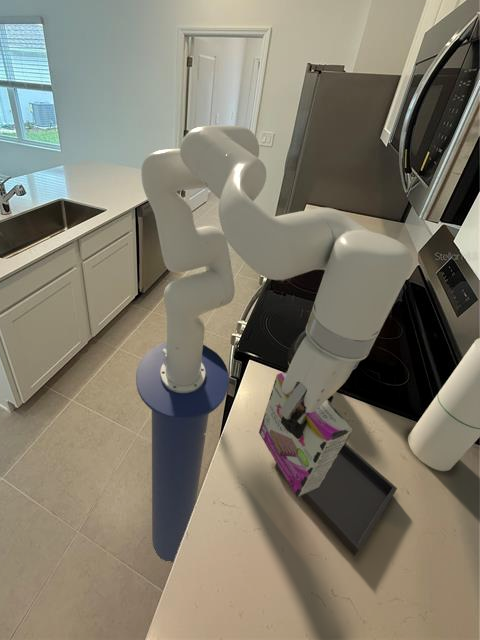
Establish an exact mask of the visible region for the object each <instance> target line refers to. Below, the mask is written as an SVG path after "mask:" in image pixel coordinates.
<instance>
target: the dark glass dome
mask: <svg viewBox="0 0 480 640" xmlns="http://www.w3.org/2000/svg"><path fill="white" fill-rule="evenodd" d="M305 337H306V328H305V329H304V330H302V331H301V332H300V333H299V334H298V336H296V338H295V339H294V340H293V342H292V344H291V345H290V347H289V349H288V351H287V354H286V360H287V365H288V367H289V366H290V364H291V362H292V360H293V357H294V355H295V353H296V351H297V349H298V348H299V346H300V344H301V342H302V341H303V339H304V338H305Z"/></svg>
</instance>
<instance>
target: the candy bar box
mask: <svg viewBox="0 0 480 640" xmlns="http://www.w3.org/2000/svg"><path fill="white" fill-rule="evenodd" d="M286 374H287V371H282V372H280V373H277V374H276V376H275V379H274V383H273V385H272V388H271V393H270V394H269V395H270V396H269V398H268V401H267V405H266V409H265V411H264V415H263V418H262V422H261V425H260V427H259V431H258V433H259V435H260V437H261V439H262V441H263V442H264V444H265V446H266V447H267V449H268V451H269V453H270V454H271V456H272V458H273V459H274V462H275V464H276V463H277V464H278V466H279V468H280V470H281V471H282V473H283V475H284V477H285V478H286V480H287V481H286V480H285V481H286V482H287V483H288V485H289V487H290V489H291V490H292V492H293V494H294V496H295V498H299V497H301V496H302V495H303V494H305V493H307V492H309V491H311V490H313V489H316V488H318V487H319V486H320V485H321V483H322V482H323V480H324V478H325V476H326V475H327V473H328V471H329V469H330V468H331V466H332V464H333V462H334V461H335V459H336V457H337V456H338V454H339V452H340V450H341V449H342V447H343V445H344V444H345V443H347V440H348V439H349V438H350V435H351V433H352V432H353V428H352V427H351V426H350V425H349V424H348V422H347V421H346V420H345V419H344V418H343V416H342V415H341V414H340V413H339V412H338V410H336V408H335V406H333V404H332V402H331V403H330V402H329V401H328V400H326V401H325V402H324V403H323V404H322V405H321V406H320V407H318V408H317V409H316V410H315V411H314V412H312V413H309V414H308V416H307V418H306V420H307V424H306V426H305V429H304V431H303V433H302V436H301V437H300V438H299V439H297V438H296V437H295V436H294V435H293V434H292V433H289V432H288V431H287V430H286V429H285V427H284V425H283V424H282V423H281V419H282V415H281V414H280V413H279V410H280V408H281V407H282V406H283V404H284V403H285V402H286V400H287V399H288V397H289V396H290V395H291V393H292V392H293V391H294V390H293V391H291V392H290V393H288V394H285V393H284V392H283V391H282V384H283V381H284V379H285V376H286ZM297 409H298V410H299V411H300V412H301V413H302V412H303V410H304V407H303V406H302V405H301V404H299V405H298V407H297ZM284 477H283V478H284Z"/></svg>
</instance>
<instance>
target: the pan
mask: <svg viewBox="0 0 480 640" xmlns="http://www.w3.org/2000/svg"><path fill="white" fill-rule="evenodd" d="M274 468H275V470H276V471H277V472H278V474H280V475H281V477H282V478H283V479H284V480H285V481H286V482H287V480H286V478H285V477H284V475H283V473H282V471H281V470H280V468H279V466H278V464H277V463H276V462H275V465H274ZM397 490H398V487H396V486H395V485H394V484H393V483H392V482H391V481H389V480H388V479H387V477H385V476H384V475H383V474H381V472H379V470H377V468H375V467H374V466H373V465H371V464H370V463H369V462H368V461H367V460H366V459H365V458H363V457H362V456H361V455H360V454H359V453H358V452H357V451H355V450H354V449H353V448H352V447H351V446H349V445H348V443H347V442H345V444H344V445H343V447H342V449H341V450H340V452H339V454H338V456H337V457H336V459H335V461H334V462H333V464H332V466H331V468H330V469H329V471H328V473H327V475H326V476H325V478H324V480H323V482H322V483H321V485H320V486H319V487H318V488H316V489H313V490H311V491H309V492H307V493H305V494H303V495H302V496H300V498H301V499H302V500H303V501H304V502H305V503H306V504H307V506H309V508H310V509H311V510H312V511H313V513H315V515H316V516H318V518H319V519H320V520H321V521H322V522H323V523H324V524H325V526H326V527H327V528H328V529H329V530H330V531H331V532H332V534H333V535H334V536H335V537H336V538H337V539H338V540H339V541H340V542H341V543H342V545H344V547H345V548H346V549H347V550H348V552H350V553H351V554H352V556H353V557H356V556H357V555H358V554H359V552H360V551H361V549H362V547H363V546H364V544H365V543H366V540H367V539H368V537H369V536H370V534H371V533H372V531H373V529H374V528H375V526H376V524H377V522H378V521H379V520H380V518H381V516H382V514H383V513H384V512H385V509H386V508H387V506H388V504H389V503H390V502H391V500H392V498H393V497H394V494H395V493H396V491H397Z"/></svg>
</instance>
